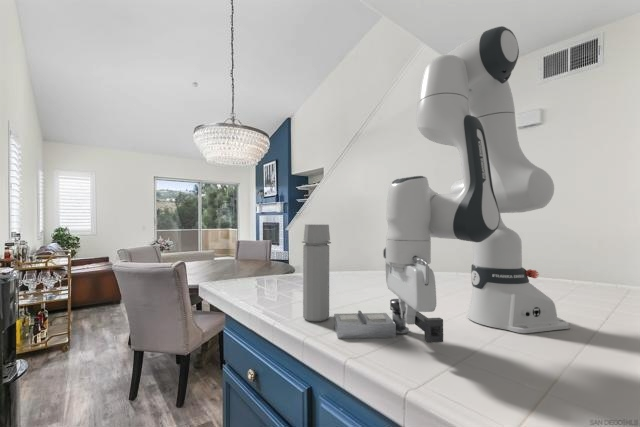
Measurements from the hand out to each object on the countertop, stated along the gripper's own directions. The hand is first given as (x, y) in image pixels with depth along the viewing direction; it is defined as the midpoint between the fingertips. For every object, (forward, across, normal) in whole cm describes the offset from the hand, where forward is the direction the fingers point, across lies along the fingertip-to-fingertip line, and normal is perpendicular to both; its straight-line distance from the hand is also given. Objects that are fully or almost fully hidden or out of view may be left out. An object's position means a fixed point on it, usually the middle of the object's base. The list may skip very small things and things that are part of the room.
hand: (407, 321), depth 62 cm
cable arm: (+1, +2, -2) cm, 3 cm away
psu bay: (+5, +9, +7) cm, 13 cm away
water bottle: (+6, +20, +18) cm, 28 cm away
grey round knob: (+5, +10, -1) cm, 11 cm away
